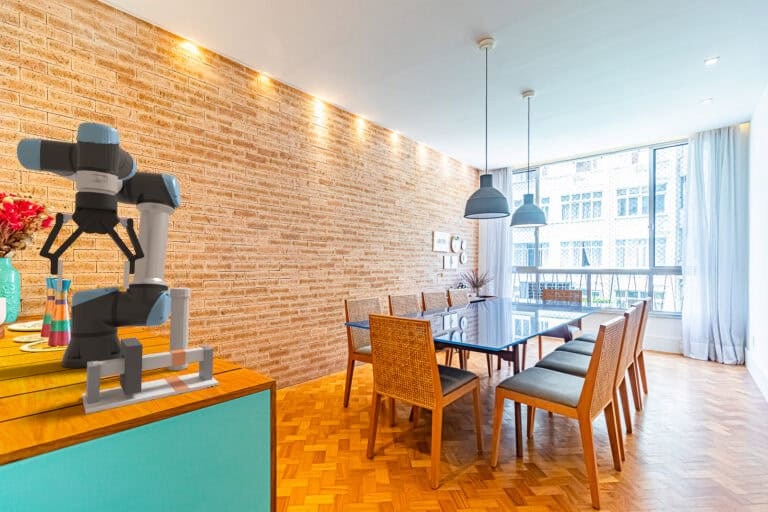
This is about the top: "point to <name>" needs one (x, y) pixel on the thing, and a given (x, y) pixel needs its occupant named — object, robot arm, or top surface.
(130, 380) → the collar
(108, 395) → the rail
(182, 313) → the pipe
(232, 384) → the top surface
